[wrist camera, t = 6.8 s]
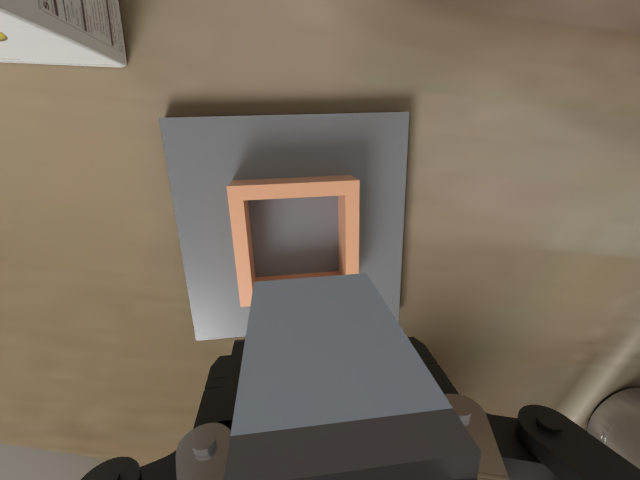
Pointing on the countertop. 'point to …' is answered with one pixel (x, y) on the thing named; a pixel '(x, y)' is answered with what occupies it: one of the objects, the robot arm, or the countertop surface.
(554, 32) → the countertop surface
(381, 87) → the countertop surface
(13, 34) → the supplement box
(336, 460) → the plug
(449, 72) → the countertop surface
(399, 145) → the socket dock
